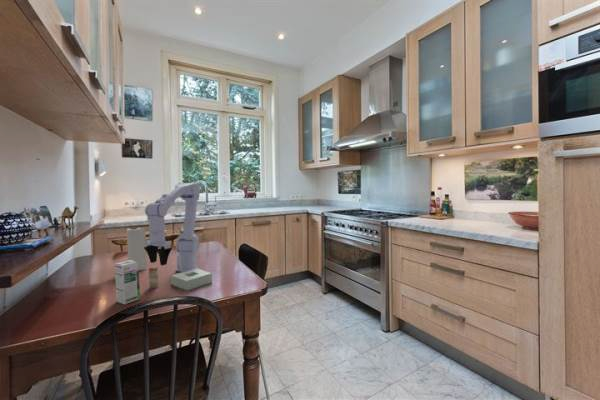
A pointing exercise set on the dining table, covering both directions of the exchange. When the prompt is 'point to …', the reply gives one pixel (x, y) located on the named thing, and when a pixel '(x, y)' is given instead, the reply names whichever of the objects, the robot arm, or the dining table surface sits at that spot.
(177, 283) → the socket block
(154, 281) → the dowel
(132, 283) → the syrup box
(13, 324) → the dining table surface
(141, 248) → the tall grey box
